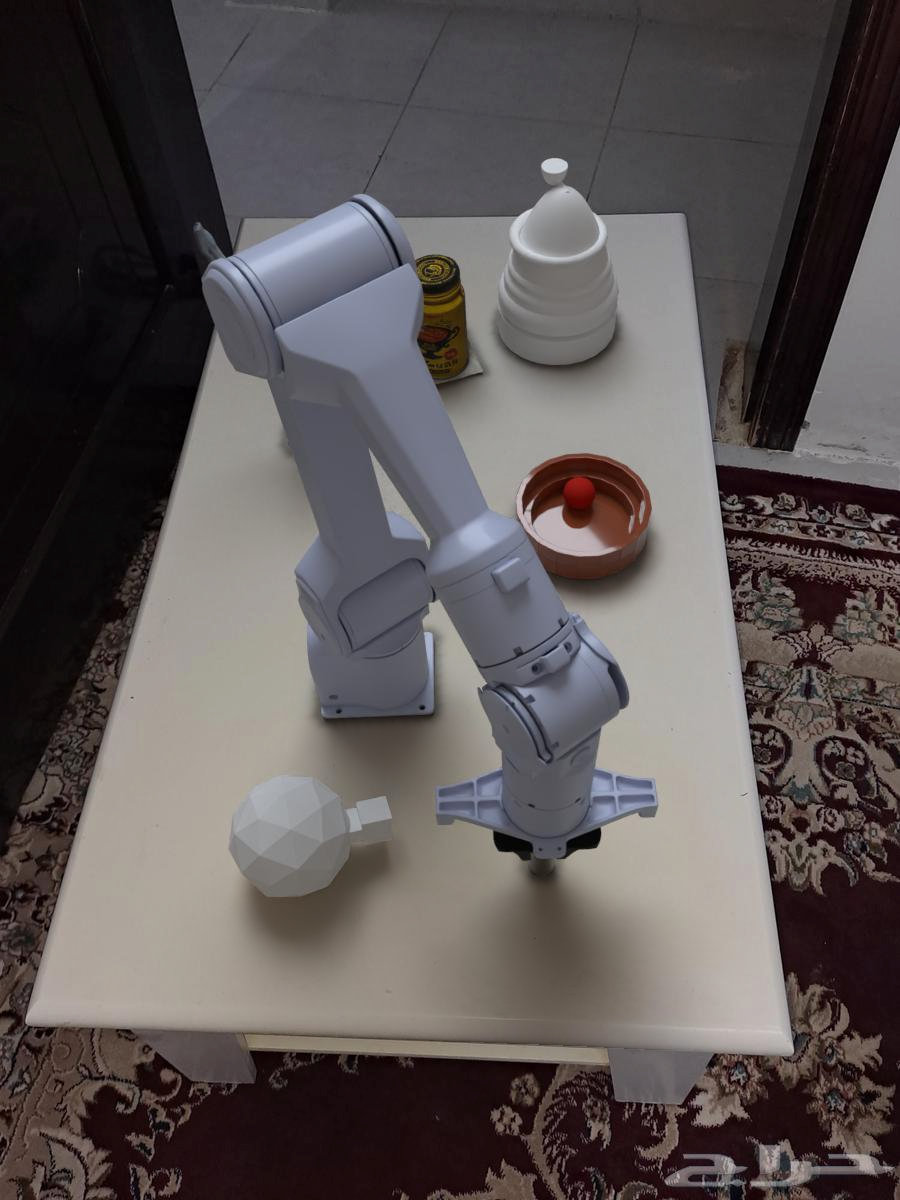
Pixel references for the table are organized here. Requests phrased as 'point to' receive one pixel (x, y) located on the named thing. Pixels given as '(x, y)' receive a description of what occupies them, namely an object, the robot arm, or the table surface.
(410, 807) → the table surface
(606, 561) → the bowl
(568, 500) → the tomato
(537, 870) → the stick
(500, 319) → the honey pot
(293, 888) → the perfume bottle
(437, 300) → the condiment
